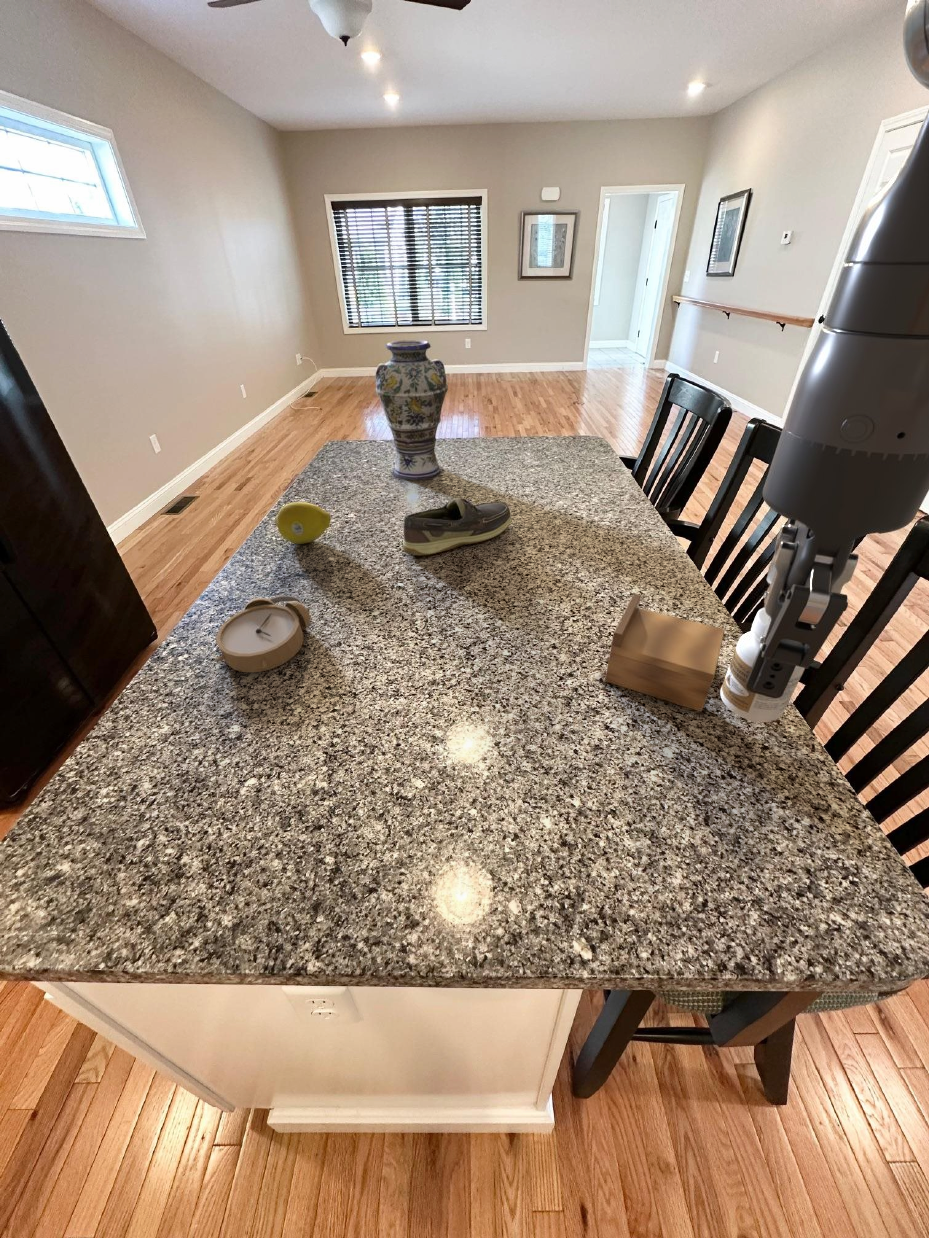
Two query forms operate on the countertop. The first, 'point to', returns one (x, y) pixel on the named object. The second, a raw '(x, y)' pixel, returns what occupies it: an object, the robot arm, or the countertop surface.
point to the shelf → (664, 656)
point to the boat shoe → (453, 526)
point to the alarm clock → (263, 634)
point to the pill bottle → (738, 672)
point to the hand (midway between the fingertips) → (764, 669)
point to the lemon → (302, 522)
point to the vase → (412, 406)
